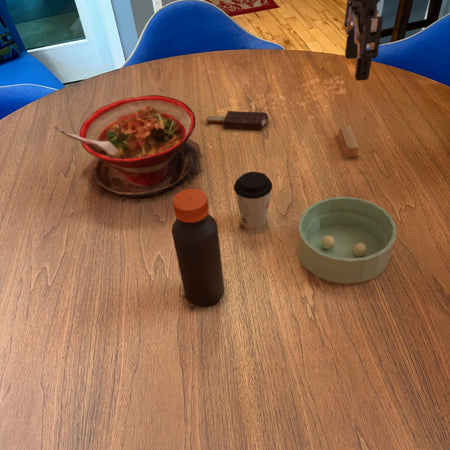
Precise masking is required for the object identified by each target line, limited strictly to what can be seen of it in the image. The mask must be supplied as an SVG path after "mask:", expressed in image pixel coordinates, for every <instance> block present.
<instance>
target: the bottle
mask: <svg viewBox="0 0 450 450" xmlns="http://www.w3.org/2000/svg"><path fill="white" fill-rule="evenodd" d="M172 207H173V213H174V215H175V220H174V222H173V223H172V226H171V236H172V240H173V245H174V249H175V254H176V259H177V263H178V269H179V273H180V278H181V283H182V288H183V292H184V296H185V299H186V300H187V302H188V303H189V304H191V305H192V306H194V307H198V308H209V307H212V306H214V305H216V304H218V303H219V302H220V300H221V299H222V298H223V297H224V294H225V282H224V275H223V266H222V265H223V264H222V256H221V247H220V237H219V228H218V224H217V223H218V222H217V221H216V219H215V218H214V217H213V216H212V215H211V214H210V208H209V199H208V195H207V193H205V191H203V190H200V189H196V188H188V189H183V190H181V191H179V192H177V193H176V194H175V195H174V196H173V198H172Z"/></svg>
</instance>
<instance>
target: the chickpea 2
mask: <svg viewBox="0 0 450 450" xmlns="http://www.w3.org/2000/svg"><path fill="white" fill-rule="evenodd" d="M366 252H367V247H366V245H365V244H363V243H357V244H355V245H354V247H353V253H354V254H355V255H356V256H358V257H361V256H364V255H365V254H366Z"/></svg>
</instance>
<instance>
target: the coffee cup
mask: <svg viewBox="0 0 450 450" xmlns="http://www.w3.org/2000/svg"><path fill="white" fill-rule="evenodd" d="M272 189H273V182H272V180H271V179H270V177H268V176H267V174H266V173H263V172H259V171H247V172H245V173H243V174H242V175H240V176H239V177H238V178H237V179H236V180H235V183H234V185H233V190H234V192H235V196H236V199H237V205H238V210H239V214H240V219H241V223H242V225H243V226H244V227H245V228H248V229H251V230H257V229H262V228H263V227H264V226H265V225H266V224H267V219H268V212H269V205H270V199H271V191H272Z"/></svg>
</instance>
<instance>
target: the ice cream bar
mask: <svg viewBox="0 0 450 450" xmlns="http://www.w3.org/2000/svg"><path fill="white" fill-rule="evenodd" d="M205 119H206V120H205V121H207V122H212V123H213V122H214V123H215V122H216V123H222V125H223V128H224V129H237V130H255V131H261V130H263V127H264V126H265V125H268V123H269V122H268V121H269V114H268V113H267V112H260V111H240V110H238V111H237V110H227V113H226V114H225V116H221V115H217V116H216V115H208V116H206V118H205Z"/></svg>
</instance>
